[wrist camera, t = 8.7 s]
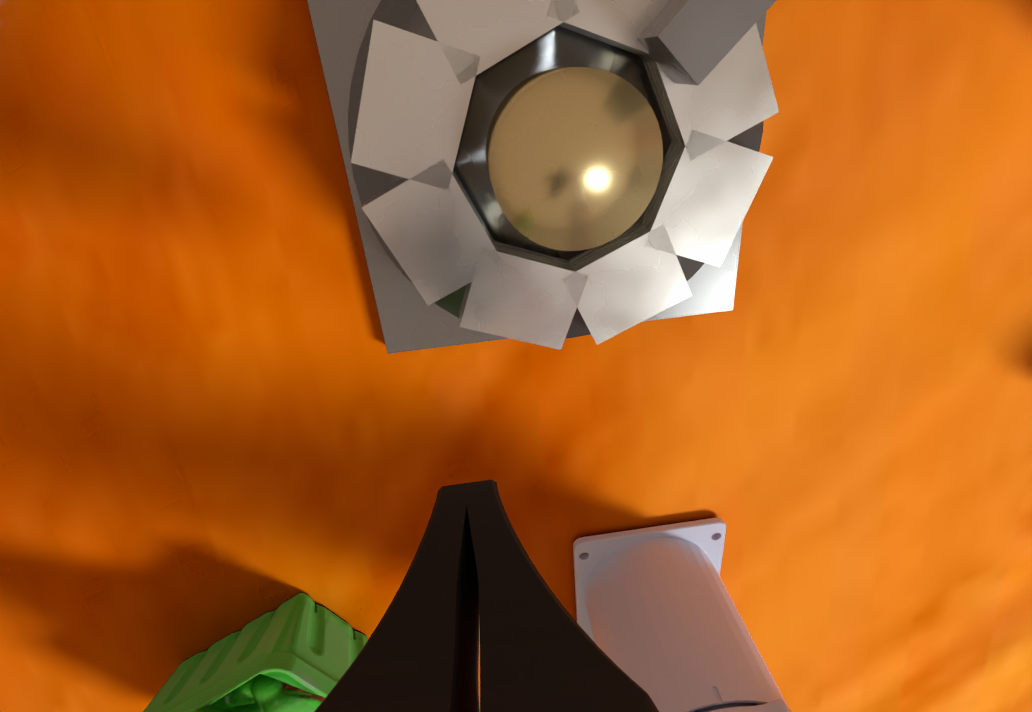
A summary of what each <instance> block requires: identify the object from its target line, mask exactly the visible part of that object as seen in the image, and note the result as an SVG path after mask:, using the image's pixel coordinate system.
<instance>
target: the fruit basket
mask: <svg viewBox="0 0 1032 712" xmlns="http://www.w3.org/2000/svg"><path fill="white" fill-rule="evenodd" d="M367 641H368V638H367V636H365V635H364V634H362V633H359V632H357V631H353V629H352V628H351V627H350V625H349V624H348V623H346V622H345V621H344V620H342V619H341V618H339V617H338V616H336V615H335V614H334V613H332V612H331V611H329V610H328V609H327V608H325V607H322V606H320V605H318V604H315V603H314V601H313V600H312V599H311V597H310V596H308V595H307V594H305V593H299V594H297V595H295V596H294V597H292V598H290V599H289V600H287V601H285V602H284V603H282V604H281V605H280V606H279V607H278V608H277V609H276V611H271V612H267V613H265V614H263V615H262V616H260V617H258V618H256V619H255V620H253V621H251V622H250V623H248V624H246V625H245V627H244V628H243V629H242V630H241V631H238V632H235V633H231V634H230V635H228V636H226V637H224V638H223V639H221V640H219V641H217V642H216V643H214V644H212V646H211V647H210V648H209V649H208V650H207V651H203V652H200V653H197V654H195V655H194V656H192V657H190V658H189V659H187V660H185V661H184V662H182V663H181V664H180V665H179V666H178V668H177V669H176V670H175V672H174V673H173V674H172V675H171V677H170V678H169V679H168V680H167V682H166V683H165V684H164V686H163V687H162V688H161V689H160V691H159V692H158V693H157V695H156V696H155V697H154V698H153V700H152V701H151V702H150V704H149V705H148V706H147V707H146V709H145V710H144V711H143V712H314V711H315V710H316V709H317V708H318V707H319V705H320V704H321V703H322V702H323V700H324V699H325V698H326V697H327V695H328V694H329V693H330V691H331V690H332V689H333V688H334V686H335V685H336V684H337V682H338V681H339V680H340V679H341V677H342V676H343V675H344V673H345V672H346V671H347V670H348V668H349V667H350V666H351V664H352V663H353V661H354V660H355V659H356V657H357V656H358V654H359V653H360V652H361V650H362V649H363V647H364V646H365V644H366V643H367Z"/></svg>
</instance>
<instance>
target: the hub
mask: <svg viewBox="0 0 1032 712" xmlns="http://www.w3.org/2000/svg"><path fill="white" fill-rule="evenodd" d="M307 2H308V7H309V11H310V15H311V20H312V24H313V28H314V33H315V37H316V42H317V46H318V50H319V55H320V59H321V64H322V68H323V72H324V77H325V81H326V85H327V90H328V94H329V99H330V103H331V107H332V112H333V116H334V121H335V125H336V129H337V134H338V138H339V142H340V147H341V151H342V156H343V160H344V164H345V169H346V173H347V178H348V182H349V186H350V191H351V195H352V200H353V204H354V208H355V213H356V217H357V221H358V226H359V230H360V235H361V239H362V243H363V248H364V252H365V257H366V261H367V265H368V270H369V274H370V278H371V283H372V287H373V292H374V296H375V300H376V305H377V309H378V314H379V318H380V322H381V327H382V331H383V336H384V340H385V344H386V349H387V353H388V354H389V353H397V352H405V351H412V350H420V349H428V348H436V347H444V346H452V345H460V344H468V343H476V342H484V341H491V340H499V339H507V338H506V337H502V336H497V335H493V334H489V333H484V332H480V331H475V330H471V329H466V328H462V327H460V322H459V311H460V308H461V304H462V300H463V297H464V293H465V289H466V286H467V285H465V286H463V287H461V288H459V289H458V290H456V291H454V292H452V293H450V294H448V295H447V296H445V297H443V298H441V299H439V300H438V301H436V302H434V303H432V304H430V305H429V306H428V305H427V303H426V302H425V300H424V299H423V297H422V296H421V294H420V293H419V292H418V290H417V289H416V287H415V286H414V284H413V283H412V281H411V280H410V278H409V277H408V275H407V274H406V272H405V271H404V270H403V268H402V267H401V265H400V264H399V262H398V261H397V259H396V258H395V256H394V255H393V253H392V252H391V250H390V249H389V248H388V246H387V245H386V243H385V242H384V240H383V239H382V237H381V236H380V234H379V233H378V231H377V230H376V228H375V227H374V226H373V224H372V223H371V221H370V220H369V218H368V217H367V215H366V214H365V212H364V211H363V209H362V206H363V204H364V203H365V201H366V199H367V198H369V197H371V196H372V195H374V194H376V193H377V192H379V191H381V190H383V189H384V188H386V187H388V186H389V185H391V184H393V183H394V182H396V181H398V180H399V179H401V178H403V177H399V176H396V175H392V174H389V173H385V172H382V171H378V170H375V169H371V168H368V167H364V166H361V165H357V164H353V163H351V159H352V152H353V146H354V140H355V133H356V127H357V121H358V115H359V108H360V102H361V96H362V90H363V83H364V77H365V71H366V64H367V58H368V52H369V46H370V39H371V33H372V27H373V20H376V21H379V22H382V23H385V24H388V25H391V26H394V27H397V28H400V29H402V30H405V31H408V32H411V33H414V34H417V35H420V36H423V37H426V38H429V39H432V40H434V41H437V39H436V37H435V35H434V33H433V31H432V30H431V28H430V26H429V24H428V22H427V20H426V18H425V16H424V14H423V12H422V10H421V9H420V7H419V5H418V3H417V1H416V0H307ZM765 18H766V12H765V13H764V14H763V15H762V16H761V18H760V19H759V20H758V21H757V22H756V25H757V29H758V33H759V36H760V40H761V44H762V45H763V36H764V27H765ZM437 42H438V41H437ZM762 133H763V121H762V122H760V123H758V124H756V125H754V126H753V127H751V128H749V129H747V130H745V131H743V132H742V133H740V134H738V135H736V136H734V137H733V138H731V139H729V140H727V141H728V142H731V143H734V144H736V145H739V146H742V147H745V148H748V149H751V150H754V151H757V152H759V149H760V144H761V138H762ZM670 142H671V140H670V137H669V134H668V131H667V128H666V126H665V123H664V120H663V117H662V115H661V112H660V109H659V106H658V104H657V101H656V98H655V95H654V92H653V90H652V87H651V84H650V81H649V79H648V76H647V73H646V70H645V67H644V65H643V62H642V61H641V59H640V58H639V57H638V56H637V55H636V54H634V53H631V52H628V51H626V50H623V49H620V48H618V47H615V46H612V45H609V44H607V43H604V42H601V41H599V40H596V39H593V38H590V37H588V36H585V35H582V34H580V33H577V32H574V31H572V30H569V29H566V28H563V27H561V26H556V27H555V28H553V29H551V30H550V31H548V32H546V33H545V34H543V35H541V36H540V37H538V38H537V39H535V40H533V41H532V42H530V43H528V44H527V45H525V46H524V47H522V48H520V49H519V50H517V51H515V52H514V53H512V54H510V55H509V56H507V57H506V58H504V59H502V60H501V61H499V62H497V63H496V64H494V65H493V66H491V67H489V68H488V69H486V70H484V71H483V72H481V73H479V74H478V75H476V77H475V81H474V85H473V89H472V93H471V98H470V102H469V106H468V110H467V114H466V118H465V123H464V127H463V131H462V135H461V139H460V143H459V148H458V152H457V156H456V160H455V164H454V168H453V170H454V171H455V173H456V175H457V177H458V178H459V180H460V182H461V184H462V185H463V187H464V189H465V191H466V192H467V194H468V196H469V198H470V199H471V201H472V203H473V205H474V206H475V208H476V210H477V212H478V213H479V215H480V217H481V219H482V220H483V222H484V224H485V226H486V227H487V229H488V231H489V233H490V234H491V236H492V238H493V240H495V241H498V242H502V243H506V244H510V245H513V246H517V247H521V248H525V249H528V250H532V251H536V252H540V253H543V254H547V255H551V256H555V257H558V258H562V259H566V260H569V259H571V258H573V257H575V256H577V255H578V254H580V253H582V252H584V251H586V250H588V249H591V248H594V247H597V246H601V245H603V244H605V243H607V242H609V241H611V240H613V239H615V238H616V237H618V236H620V235H621V234H622V233H624V232H625V231H626V230H627V229H629V228H630V227H631V226H632V225H634V224H636V223H637V222H639V220H640V217H641V215H642V214H643V212H644V211H645V209H646V208H647V206H648V205H649V203H650V201H651V199H652V197H653V195H654V193H655V191H656V188H657V185H658V182H659V179H660V175H661V170H662V162H663V160H664V157H665V155H666V152H667V150H668V147H669V145H670ZM742 222H743V221H742ZM741 231H742V223H741V225H740V227H739V230H738V232H737V234H736V236H735V238H734V240H733V242H732V244H731V246H730V248H729V250H728V252H727V254H726V256H725V258H724V261H723V263H722V265H721V267H718V266H714V265H711V264H707V263H704V262H700V261H696V260H693V259H689V258H686V257H682V256H679V255H676V256H677V258H678V261H679V263H680V266H681V268H682V271H683V273H684V276H685V278H686V281H687V283H688V286H689V289H690V291H691V294H692V296H691V297H689V298H687V299H685V300H683V301H681V302H679V303H677V304H675V305H673V306H671V307H669V308H667V309H665V310H664V311H662V312H660V313H658V314H656V315H654V316H652V317H650V318H648V319H646V320H644V321H649V320H657V319H665V318H673V317H681V316H689V315H697V314H705V313H713V312H720V311H728V310H733V302H734V293H735V285H736V276H737V267H738V258H739V249H740V240H741ZM589 334H591V333H590V331H589V329H588V327H587V325H586V323H585V321H584V319H583V318H582V316H581V314H580V312H579V310H578V308H576V311H575V314H574V316H573V319H572V322H571V324H570V327H569V330H568V332H567V335H566V338H573V337H578V336H583V335H589Z"/></svg>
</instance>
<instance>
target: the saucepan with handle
mask: <svg viewBox="0 0 1032 712" xmlns="http://www.w3.org/2000/svg"><path fill="white" fill-rule="evenodd" d="M416 1H417V3H418V5H419V7H420V9H421V10H422V12H423V14H424V16H425V18H426V20H427V22H428V24H429V26H430V28H431V30H432V31H433V33H434V35H435V37H436V39H437V41H438V42H437V41H434V40H432V39H429V38H426V37H423V36H420V35H417V34H414V33H411V32H408V31H405V30H402V29H400V28H397V27H394V26H391V25H388V24H385V23H382V22H379V21H376V20H373V27H372V33H371V39H370V46H369V52H368V58H367V64H366V71H365V77H364V83H363V90H362V96H361V102H360V108H359V115H358V121H357V127H356V133H355V140H354V146H353V152H352V159H351V163H353V164H357V165H361V166H364V167H368V168H371V169H375V170H378V171H382V172H385V173H389V174H392V175H396V176H399V177H403V178H401V179H399V180H398V181H396V182H394V183H393V184H391V185H389V186H388V187H386V188H384V189H383V190H381V191H379V192H377V193H376V194H374V195H372V196H371V197H369V198H367V199H366V201H365V203H364V204H363V206H362V209H363V211H364V212H365V214H366V215H367V217H368V218H369V220H370V221H371V223H372V224H373V226H374V227H375V228H376V230H377V231H378V233H379V234H380V236H381V237H382V239H383V240H384V242H385V243H386V245H387V246H388V248H389V249H390V250H391V252H392V253H393V255H394V256H395V258H396V259H397V261H398V262H399V264H400V265H401V267H402V268H403V270H404V271H405V272H406V274H407V275H408V277H409V278H410V280H411V281H412V283H413V284H414V286H415V287H416V289H417V290H418V292H419V293H420V294H421V296H422V297H423V299H424V300H425V302H426V303H427V305H428V306H429V305H430V304H432V303H434V302H436V301H438V300H439V299H441V298H443V297H445V296H447V295H448V294H450V293H452V292H454V291H456V290H458V289H459V288H461V287H463V286H465V285H467V286H466V289H465V293H464V297H463V300H462V304H461V308H460V311H459V322H460V327H462V328H466V329H471V330H475V331H480V332H484V333H489V334H493V335H497V336H502V337H506V338H511V339H515V340H520V341H524V342H528V343H533V344H537V345H542V346H546V347H551V348H555V349H559V350H561V348H562V346H563V343H564V340H565V338H566V335H567V332H568V330H569V327H570V324H571V322H572V319H573V316H574V314H575V311H576V308H578V310H579V312H580V314H581V316H582V318H583V319H584V321H585V323H586V325H587V327H588V329H589V331H590V333H591V335H592V337H593V339H594V340H595V342H596V344H599V343H601V342H603V341H605V340H607V339H609V338H611V337H613V336H615V335H617V334H619V333H621V332H623V331H625V330H627V329H629V328H630V327H632V326H634V325H636V324H638V323H640V322H642V321H644V320H646V319H648V318H650V317H652V316H654V315H656V314H658V313H660V312H662V311H664V310H665V309H667V308H669V307H671V306H673V305H675V304H677V303H679V302H681V301H683V300H685V299H687V298H689V297H691V296H692V294H691V291H690V289H689V286H688V283H687V281H686V278H685V276H684V273H683V271H682V268H681V266H680V263H679V261H678V258H677V256H676V255H679V256H682V257H686V258H689V259H693V260H696V261H700V262H704V263H707V264H711V265H714V266H718V267H721V265H722V263H723V261H724V258H725V256H726V254H727V252H728V250H729V248H730V246H731V244H732V242H733V240H734V238H735V236H736V234H737V232H738V230H739V227H740V225H741V223H742V221H743V219H744V217H745V215H746V213H747V211H748V209H749V207H750V205H751V203H752V201H753V198H754V196H755V194H756V192H757V190H758V188H759V186H760V184H761V182H762V180H763V178H764V176H765V174H766V172H767V170H768V167H769V165H770V163H771V161H772V159H773V157H771V156H768V155H766V154H763V153H760V152H757V151H754V150H751V149H748V148H745V147H742V146H739V145H736V144H734V143H731V142H728V141H727V140H729V139H731V138H733V137H734V136H736V135H738V134H740V133H742V132H743V131H745V130H747V129H749V128H751V127H753V126H754V125H756V124H758V123H760V122H762V121H763V120H765V119H767V118H769V117H771V116H772V115H774V114H776V113H778V112H779V110H778V106H777V103H776V99H775V95H774V91H773V87H772V83H771V79H770V75H769V71H768V68H767V64H766V60H765V56H764V52H763V48H762V44H761V40H760V36H759V33H758V29H757V25H756V22H757V21H758V20H759V19H760V18H761V16H762V15H763V14H764V13H765V12H766V11H767V10H768V9H769V8H770V7H771V5H772V4H773V3H774V2H775V1H776V0H416ZM556 26H561V27H563V28H566V29H569V30H572V31H574V32H577V33H580V34H582V35H585V36H588V37H590V38H593V39H596V40H599V41H601V42H604V43H607V44H609V45H612V46H615V47H618V48H620V49H623V50H626V51H628V52H631V53H634V54H636V55H637V56H638V57H639V58H640V59H641V61H642V62H643V65H644V67H645V70H646V73H647V76H648V79H649V81H650V84H651V87H652V90H653V92H654V95H655V98H656V101H657V104H658V106H659V109H660V112H661V115H662V117H663V120H664V123H665V126H666V128H667V131H668V134H669V137H670V140H671V142H670V145H669V147H668V150H667V152H666V155H665V157H664V160H663V162H662V170H661V175H660V179H659V182H658V185H657V188H656V191H655V193H654V195H653V197H652V199H651V201H650V203H649V205H648V206H647V208H646V209H645V211H644V212H643V214H642V215H641V217H640V220H639V222H637V223H636V224H634V225H632V226H631V227H630V228H629V229H627V230H626V231H625V232H624V233H622V234H621V235H620V236H618V237H616V238H615V239H613V240H611V241H609V242H607V243H605V244H603V245H601V246H597V247H594V248H591V249H588V250H586V251H584V252H582V253H580V254H578V255H577V256H575V257H573V258H571V259H569V260H566V259H562V258H558V257H555V256H551V255H547V254H543V253H540V252H536V251H532V250H528V249H525V248H521V247H517V246H513V245H510V244H506V243H502V242H498V241H495V240H493V238H492V236H491V234H490V233H489V231H488V229H487V227H486V226H485V224H484V222H483V220H482V219H481V217H480V215H479V213H478V212H477V210H476V208H475V206H474V205H473V203H472V201H471V199H470V198H469V196H468V194H467V192H466V191H465V189H464V187H463V185H462V184H461V182H460V180H459V178H458V177H457V175H456V173H455V171H454V170H453V168H454V164H455V160H456V156H457V152H458V148H459V143H460V139H461V135H462V131H463V127H464V123H465V118H466V114H467V110H468V106H469V102H470V98H471V93H472V89H473V85H474V81H475V77H476V75H478V74H479V73H481V72H483V71H484V70H486V69H488V68H489V67H491V66H493V65H494V64H496V63H497V62H499V61H501V60H502V59H504V58H506V57H507V56H509V55H510V54H512V53H514V52H515V51H517V50H519V49H520V48H522V47H524V46H525V45H527V44H528V43H530V42H532V41H533V40H535V39H537V38H538V37H540V36H541V35H543V34H545V33H546V32H548V31H550V30H551V29H553V28H555V27H556Z"/></svg>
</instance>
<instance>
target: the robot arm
mask: <svg viewBox="0 0 1032 712" xmlns="http://www.w3.org/2000/svg"><path fill="white" fill-rule="evenodd" d="M725 532H726V525H725V523H724V521H723V520H722V519H721V518H709V519H703V520H696V521H689V522H682V523H675V524H668V525H662V526H655V527H648V528H641V529H634V530H628V531H621V532H614V533H607V534H600V535H593V536H587V537H581V538H578V539H577V540H575V541H574V543H573V557H574V576H575V595H576V614H577V622H576V621H575V620H574V619H573V618H572V616H571V615H570V614H569V613H568V612H567V610H566V609H565V608H564V606H563V605H562V604H561V603H560V601H559V600H558V599H557V598H556V596H555V595H554V593H553V592H552V591H551V589H550V588H549V587H548V585H547V584H546V582H545V581H544V580H543V578H542V577H541V575H540V574H539V572H538V571H537V569H536V567H535V566H534V564H533V563H532V561H531V560H530V558H529V556H528V555H527V553H526V551H525V550H524V548H523V546H522V544H521V542H520V541H519V539H518V537H517V535H516V533H515V531H514V529H513V527H512V525H511V523H510V521H509V519H508V517H507V514H506V512H505V510H504V507H503V505H502V502H501V499H500V496H499V493H498V489H497V483H496V482H494V481H493V480H486V481H478V482H471V483H464V484H457V485H450V486H443V487H441V488H440V489H439V491H438V494H437V498H436V502H435V505H434V508H433V512H432V515H431V518H430V520H429V523H428V526H427V528H426V531H425V533H424V536H423V538H422V541H421V543H420V545H419V548H418V550H417V553H416V555H415V557H414V559H413V561H412V563H411V566H410V568H409V570H408V572H407V574H406V576H405V578H404V580H403V582H402V584H401V586H400V588H399V590H398V591H397V593H396V595H395V597H394V599H393V601H392V602H391V604H390V606H389V608H388V609H387V611H386V613H385V614H384V616H383V618H382V619H381V621H380V623H379V624H378V626H377V627H376V629H375V630H374V632H373V633H372V635H371V637H370V638H369V640H368V641H367V643H366V644H365V646H364V647H363V649H362V650H361V652H360V653H359V654H358V656H357V657H356V659H355V660H354V661H353V663H352V664H351V666H350V667H349V668H348V670H347V671H346V672H345V673H344V675H343V676H342V677H341V679H340V680H339V681H338V682H337V684H336V685H335V686H334V688H333V689H332V690H331V691H330V693H329V694H328V695H327V697H326V698H325V699H324V700H323V702H322V703H321V704H320V705H319V707H318V708H317V709H316V710H315V711H314V712H479V696H478V657H479V615H480V712H791V711H790V709H789V707H788V705H787V703H786V702H785V700H784V698H783V696H782V694H781V692H780V690H779V688H778V686H777V684H776V683H775V681H774V679H773V677H772V675H771V673H770V671H769V669H768V667H767V665H766V663H765V662H764V660H763V658H762V656H761V654H760V652H759V650H758V648H757V646H756V644H755V643H754V641H753V639H752V637H751V635H750V633H749V631H748V629H747V627H746V625H745V624H744V622H743V620H742V618H741V616H740V614H739V612H738V610H737V608H736V606H735V605H734V603H733V601H732V599H731V597H730V595H729V593H728V591H727V589H726V587H725V585H724V584H723V582H722V580H721V578H720V569H721V562H722V555H723V547H724V540H725ZM581 553H584V554H581Z"/></svg>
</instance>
